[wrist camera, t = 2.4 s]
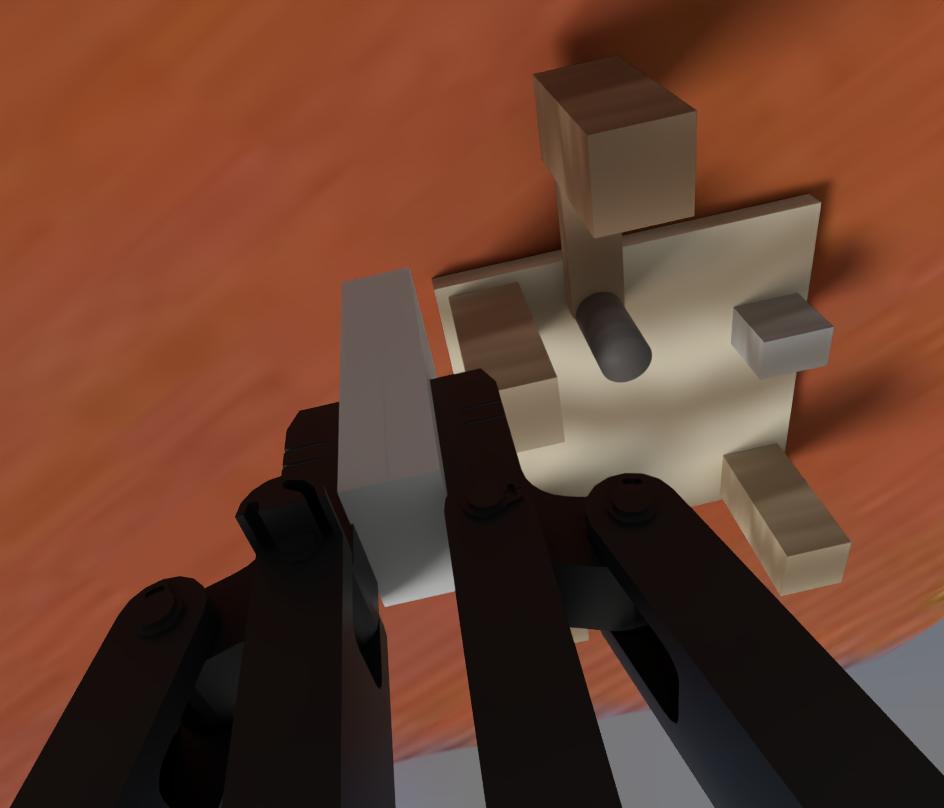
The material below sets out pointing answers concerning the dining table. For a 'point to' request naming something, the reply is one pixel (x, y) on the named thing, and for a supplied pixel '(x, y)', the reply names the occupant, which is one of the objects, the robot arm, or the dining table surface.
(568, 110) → the hinged leg
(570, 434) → the stool seat
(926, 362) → the dining table surface
